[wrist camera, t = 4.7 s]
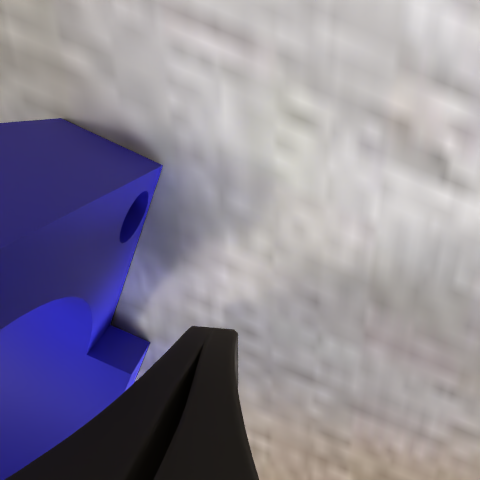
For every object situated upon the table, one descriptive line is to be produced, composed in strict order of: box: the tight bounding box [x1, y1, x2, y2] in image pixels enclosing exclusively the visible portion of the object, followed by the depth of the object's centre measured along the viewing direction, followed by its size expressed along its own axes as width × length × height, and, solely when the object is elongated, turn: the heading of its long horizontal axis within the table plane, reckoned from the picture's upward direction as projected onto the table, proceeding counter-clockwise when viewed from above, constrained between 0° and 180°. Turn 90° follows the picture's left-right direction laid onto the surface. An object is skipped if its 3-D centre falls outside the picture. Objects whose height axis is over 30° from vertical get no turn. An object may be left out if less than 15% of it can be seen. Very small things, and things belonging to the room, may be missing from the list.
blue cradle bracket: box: [0, 118, 163, 480], centre depth 9 cm, size 12×4×6 cm, turn 156°
